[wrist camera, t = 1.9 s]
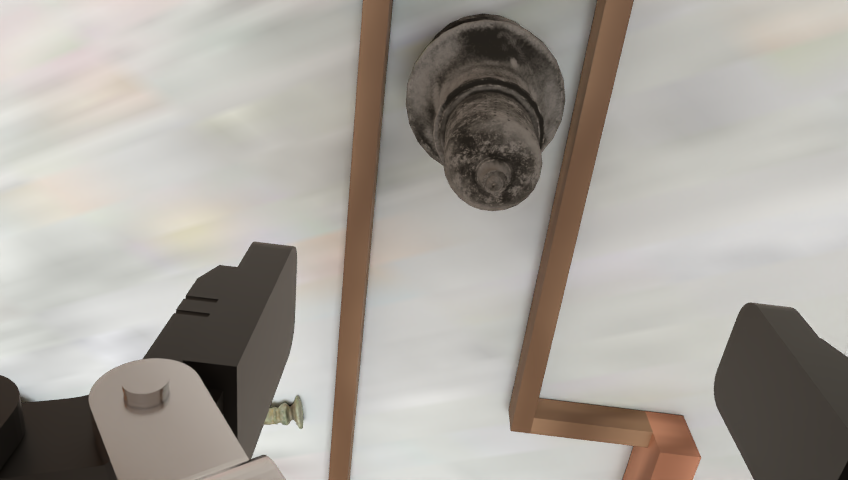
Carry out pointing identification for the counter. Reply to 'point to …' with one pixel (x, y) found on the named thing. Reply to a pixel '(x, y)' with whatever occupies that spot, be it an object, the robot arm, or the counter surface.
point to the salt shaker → (486, 108)
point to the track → (647, 431)
